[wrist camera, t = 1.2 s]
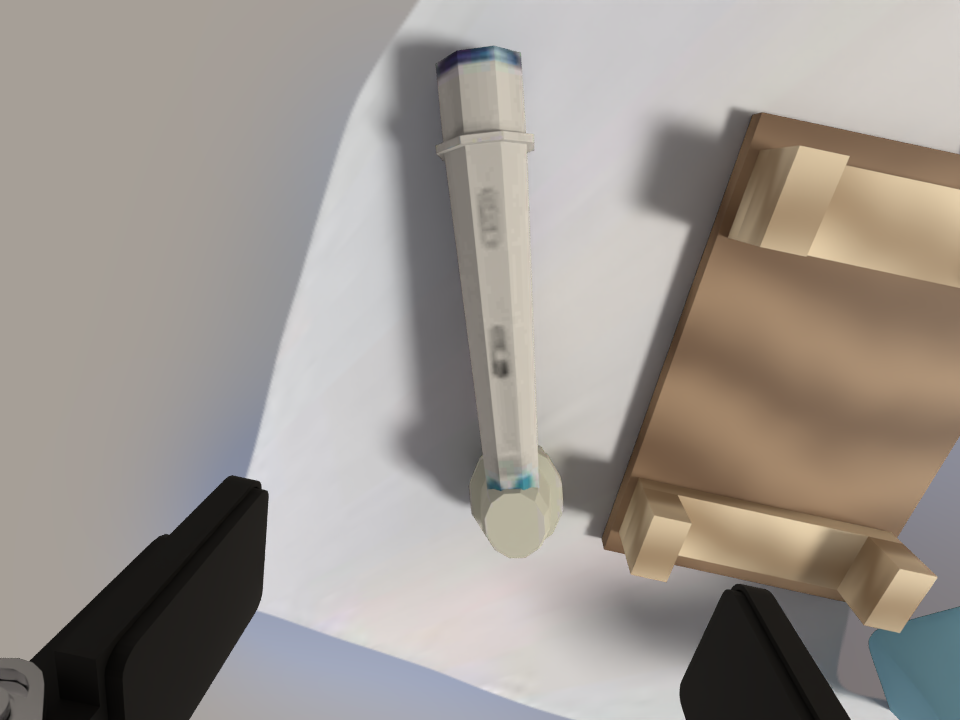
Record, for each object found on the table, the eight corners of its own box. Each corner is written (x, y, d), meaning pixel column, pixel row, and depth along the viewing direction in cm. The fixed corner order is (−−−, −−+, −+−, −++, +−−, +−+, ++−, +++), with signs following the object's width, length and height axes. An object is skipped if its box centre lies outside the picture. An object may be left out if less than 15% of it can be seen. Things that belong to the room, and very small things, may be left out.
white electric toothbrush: (540, 36, 20) (571, 593, 25) (536, 89, 26) (562, 522, 31) (410, 53, 20) (467, 595, 25) (438, 102, 27) (479, 525, 32)
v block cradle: (752, 115, 23) (803, 101, 19) (1088, 186, 23) (1214, 188, 19) (601, 538, 32) (613, 593, 28) (846, 591, 32) (895, 654, 28)
